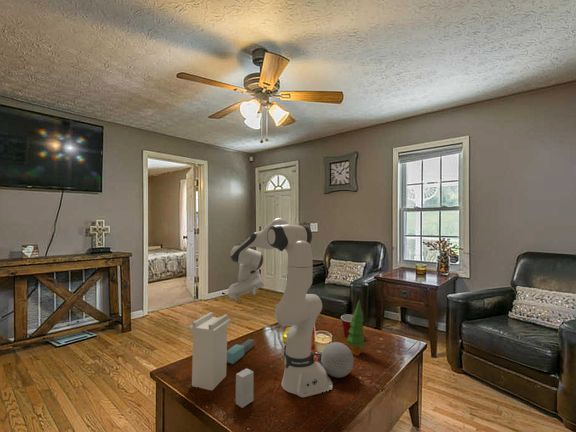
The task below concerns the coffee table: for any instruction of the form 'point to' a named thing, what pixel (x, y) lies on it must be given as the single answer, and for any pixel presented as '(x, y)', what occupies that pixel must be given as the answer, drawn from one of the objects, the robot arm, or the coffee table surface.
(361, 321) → the decorative tree
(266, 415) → the coffee table surface
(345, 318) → the plastic cup
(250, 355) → the coffee table surface
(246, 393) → the skincare box
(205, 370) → the cable duct stand
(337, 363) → the decorative ball
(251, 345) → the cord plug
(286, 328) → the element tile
